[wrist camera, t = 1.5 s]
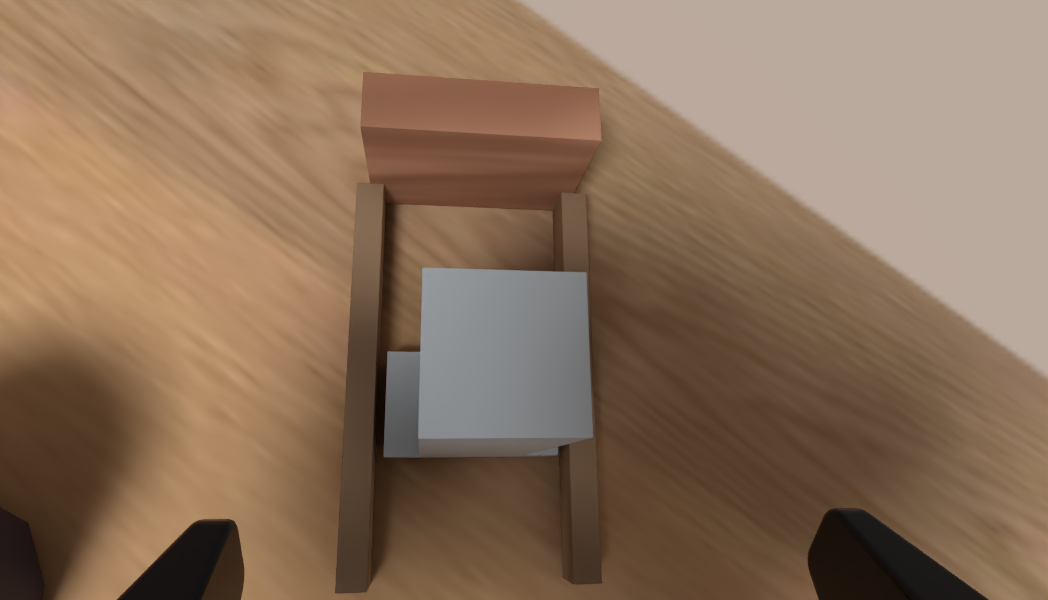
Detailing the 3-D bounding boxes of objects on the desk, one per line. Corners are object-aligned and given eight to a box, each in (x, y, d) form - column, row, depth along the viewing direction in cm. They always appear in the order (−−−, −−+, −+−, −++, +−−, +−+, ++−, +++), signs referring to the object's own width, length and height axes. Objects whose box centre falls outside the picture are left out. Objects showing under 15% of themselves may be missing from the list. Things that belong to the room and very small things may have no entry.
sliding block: (551, 456, 21) (648, 437, 12) (385, 457, 20) (356, 438, 11) (549, 359, 21) (638, 273, 13) (388, 357, 21) (365, 266, 12)
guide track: (589, 576, 20) (640, 605, 15) (341, 585, 19) (314, 619, 14) (574, 168, 24) (612, 89, 19) (363, 157, 23) (348, 70, 18)
